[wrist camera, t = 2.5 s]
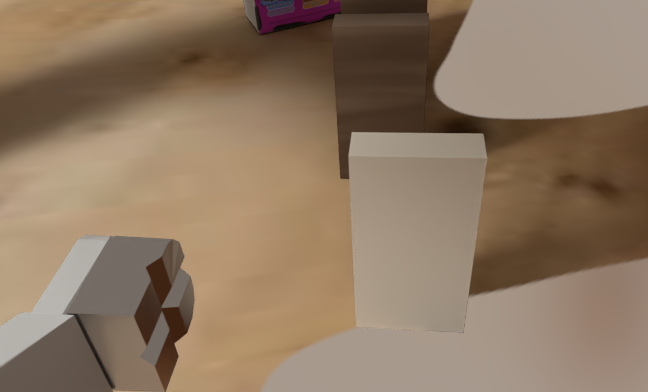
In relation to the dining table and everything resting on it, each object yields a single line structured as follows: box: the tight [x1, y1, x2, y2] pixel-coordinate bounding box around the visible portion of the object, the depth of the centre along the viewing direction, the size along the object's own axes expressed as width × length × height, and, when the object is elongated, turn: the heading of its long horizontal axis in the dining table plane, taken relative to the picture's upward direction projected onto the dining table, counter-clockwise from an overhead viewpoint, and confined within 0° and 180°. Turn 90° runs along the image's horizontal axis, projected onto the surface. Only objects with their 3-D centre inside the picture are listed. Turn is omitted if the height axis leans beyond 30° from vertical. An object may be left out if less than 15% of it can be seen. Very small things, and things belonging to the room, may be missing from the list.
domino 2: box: [332, 13, 429, 179], centre depth 34 cm, size 2×5×10 cm, turn 84°
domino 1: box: [341, 0, 427, 14], centre depth 38 cm, size 2×5×10 cm, turn 83°
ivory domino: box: [348, 132, 487, 333], centre depth 25 cm, size 2×5×10 cm, turn 84°
